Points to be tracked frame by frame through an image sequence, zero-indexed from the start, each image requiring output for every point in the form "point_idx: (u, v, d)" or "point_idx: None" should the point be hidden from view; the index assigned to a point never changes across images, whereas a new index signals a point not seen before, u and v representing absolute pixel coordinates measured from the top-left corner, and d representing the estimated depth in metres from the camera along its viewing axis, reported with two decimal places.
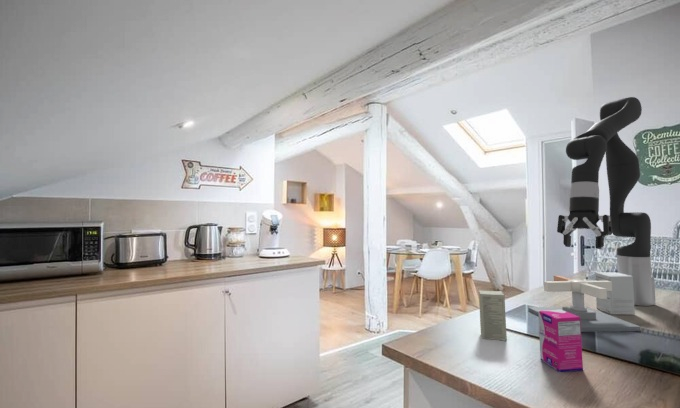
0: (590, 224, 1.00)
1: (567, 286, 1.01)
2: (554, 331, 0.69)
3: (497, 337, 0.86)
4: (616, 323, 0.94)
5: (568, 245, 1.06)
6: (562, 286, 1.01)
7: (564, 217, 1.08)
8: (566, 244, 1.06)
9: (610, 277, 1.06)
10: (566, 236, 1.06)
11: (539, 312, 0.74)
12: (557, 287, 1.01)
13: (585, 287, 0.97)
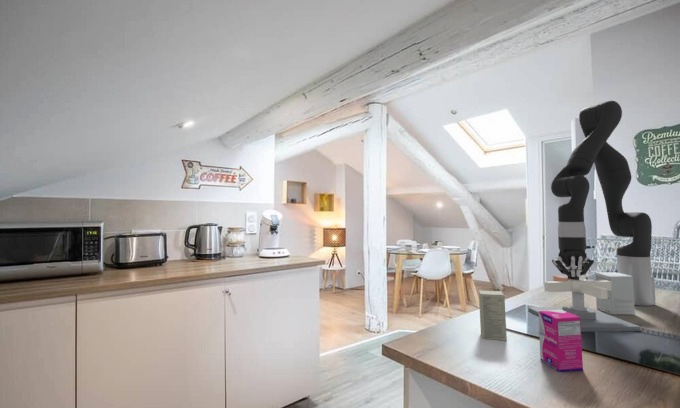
0: (580, 264, 1.06)
1: (567, 286, 1.00)
2: (554, 331, 0.69)
3: (497, 337, 0.86)
4: (616, 323, 0.94)
5: None
6: (562, 286, 1.00)
7: (559, 260, 1.07)
8: None
9: (610, 277, 1.06)
10: (574, 278, 1.06)
11: (539, 312, 0.74)
12: (557, 287, 1.00)
13: (585, 287, 0.97)
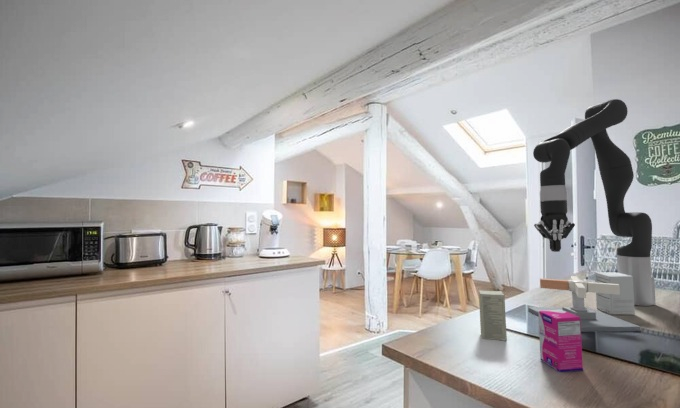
0: (561, 227, 1.06)
1: None
2: (554, 331, 0.69)
3: (497, 337, 0.86)
4: (616, 323, 0.94)
5: None
6: None
7: None
8: (556, 249, 1.07)
9: (610, 277, 1.06)
10: (556, 241, 1.07)
11: (539, 312, 0.74)
12: None
13: (596, 286, 0.98)
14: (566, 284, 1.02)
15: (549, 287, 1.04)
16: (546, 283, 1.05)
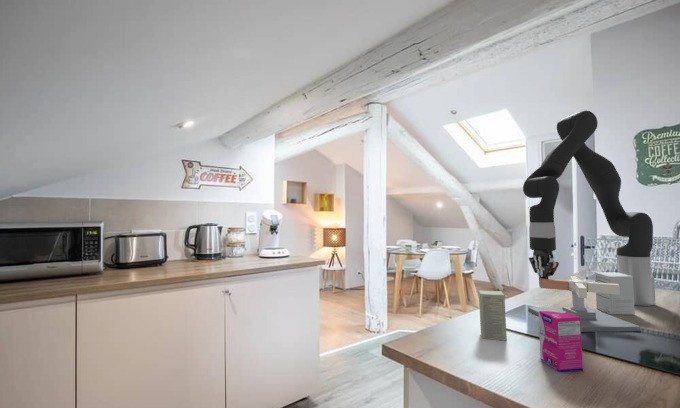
0: None
1: None
2: (554, 331, 0.69)
3: (497, 337, 0.86)
4: (616, 323, 0.94)
5: None
6: None
7: None
8: None
9: (610, 277, 1.06)
10: None
11: (539, 312, 0.74)
12: None
13: (596, 286, 0.98)
14: (566, 284, 1.02)
15: (549, 287, 1.04)
16: (546, 283, 1.05)
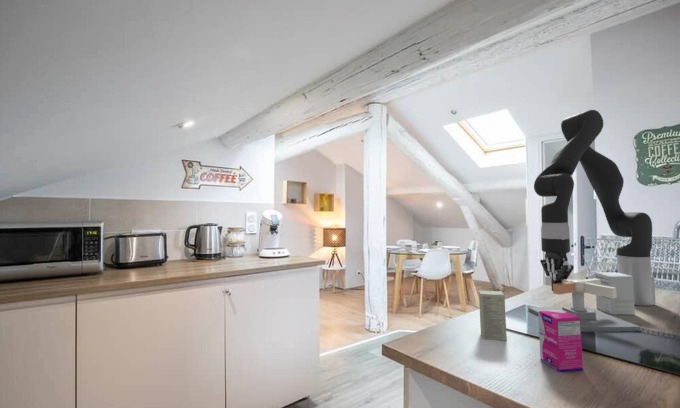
0: None
1: None
2: (554, 331, 0.69)
3: (497, 337, 0.86)
4: (616, 323, 0.94)
5: None
6: None
7: None
8: None
9: (610, 277, 1.06)
10: None
11: (539, 312, 0.74)
12: None
13: None
14: (574, 286, 1.00)
15: (564, 292, 0.98)
16: (562, 288, 0.98)
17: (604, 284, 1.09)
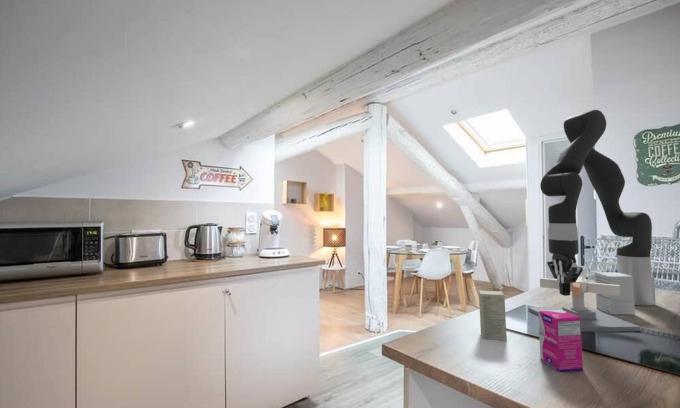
0: None
1: None
2: (554, 331, 0.69)
3: (497, 337, 0.86)
4: (616, 323, 0.94)
5: None
6: None
7: None
8: None
9: (610, 277, 1.06)
10: None
11: (539, 312, 0.74)
12: None
13: None
14: None
15: None
16: None
17: None
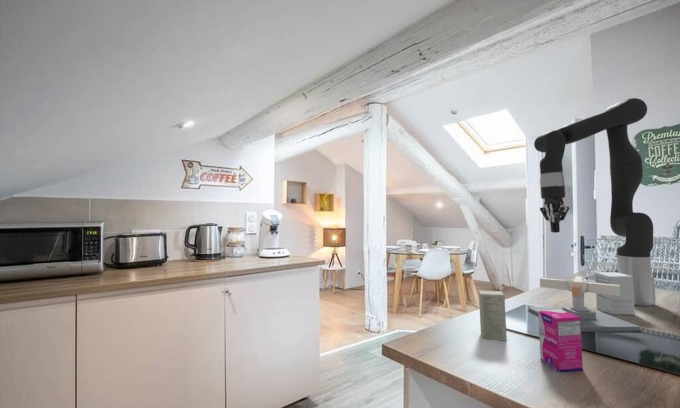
0: None
1: None
2: (554, 331, 0.69)
3: (497, 337, 0.86)
4: (616, 323, 0.94)
5: None
6: None
7: None
8: None
9: (610, 277, 1.06)
10: None
11: (539, 312, 0.74)
12: None
13: None
14: None
15: None
16: None
17: None
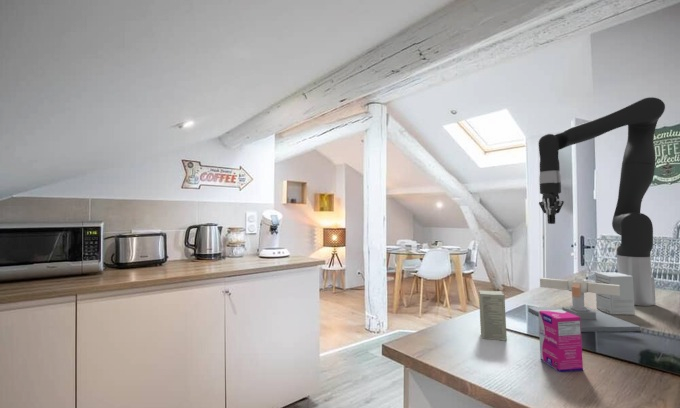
0: None
1: None
2: (554, 331, 0.69)
3: (497, 337, 0.86)
4: (616, 323, 0.94)
5: None
6: None
7: None
8: None
9: (610, 277, 1.06)
10: None
11: (539, 312, 0.74)
12: None
13: None
14: None
15: None
16: None
17: None
